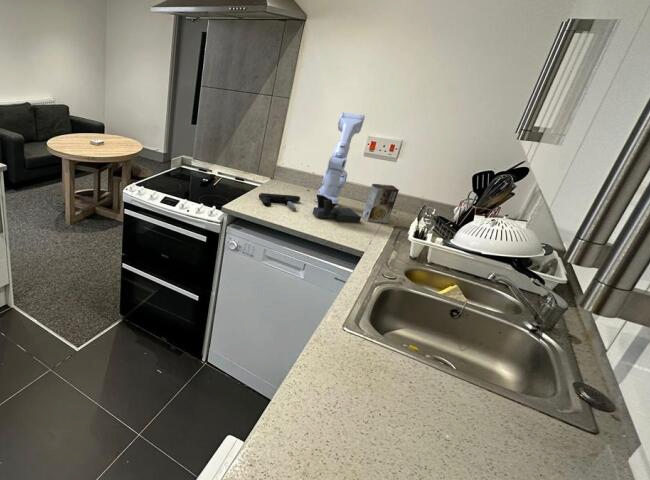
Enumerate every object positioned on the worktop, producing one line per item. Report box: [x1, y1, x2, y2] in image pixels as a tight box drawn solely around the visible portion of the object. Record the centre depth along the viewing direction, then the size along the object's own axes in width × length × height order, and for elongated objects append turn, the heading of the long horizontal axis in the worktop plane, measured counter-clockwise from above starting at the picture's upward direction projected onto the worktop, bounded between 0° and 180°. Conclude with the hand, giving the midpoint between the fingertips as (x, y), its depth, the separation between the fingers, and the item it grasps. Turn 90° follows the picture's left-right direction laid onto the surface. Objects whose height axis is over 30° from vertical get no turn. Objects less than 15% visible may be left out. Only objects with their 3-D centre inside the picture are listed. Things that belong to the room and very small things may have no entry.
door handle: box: [258, 192, 301, 212], centre depth 188 cm, size 3×20×16 cm
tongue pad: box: [312, 206, 338, 219], centre depth 176 cm, size 5×9×3 cm, turn 92°
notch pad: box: [333, 207, 362, 224], centre depth 177 cm, size 10×10×3 cm
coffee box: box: [361, 183, 400, 224], centre depth 176 cm, size 9×6×16 cm
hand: (322, 212), depth 176 cm, fingers closed on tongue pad, 5 cm apart
